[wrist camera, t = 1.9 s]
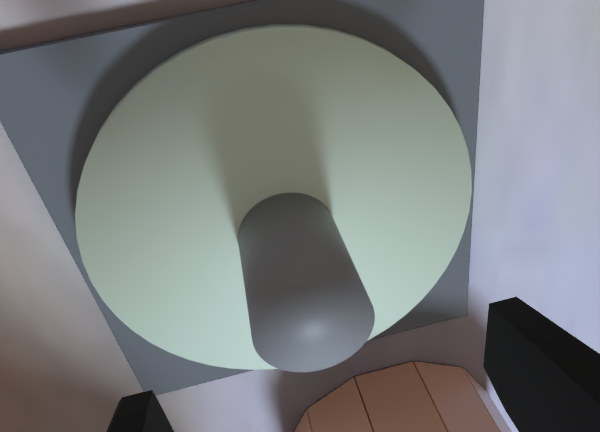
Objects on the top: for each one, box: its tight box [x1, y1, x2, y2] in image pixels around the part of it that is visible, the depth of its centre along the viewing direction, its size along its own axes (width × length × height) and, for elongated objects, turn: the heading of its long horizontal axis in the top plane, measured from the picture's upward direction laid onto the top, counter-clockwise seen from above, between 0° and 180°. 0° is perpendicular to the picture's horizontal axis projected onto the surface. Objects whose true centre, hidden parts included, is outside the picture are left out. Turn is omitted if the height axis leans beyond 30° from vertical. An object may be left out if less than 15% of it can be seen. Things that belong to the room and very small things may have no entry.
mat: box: [0, 0, 484, 395], centre depth 16 cm, size 13×13×1 cm
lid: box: [75, 24, 472, 372], centre depth 14 cm, size 12×12×5 cm
